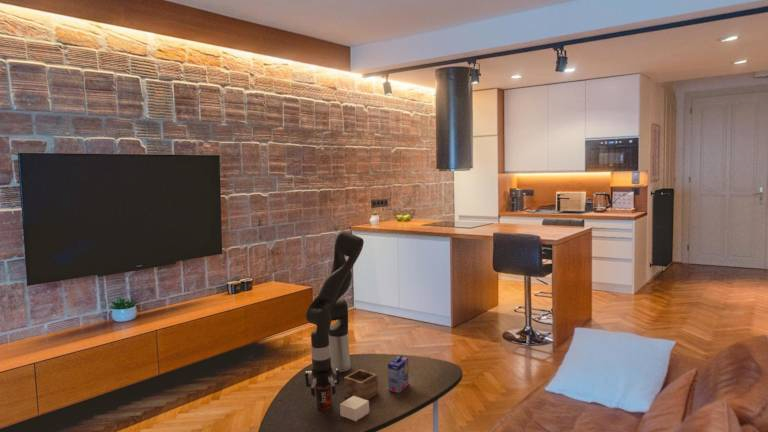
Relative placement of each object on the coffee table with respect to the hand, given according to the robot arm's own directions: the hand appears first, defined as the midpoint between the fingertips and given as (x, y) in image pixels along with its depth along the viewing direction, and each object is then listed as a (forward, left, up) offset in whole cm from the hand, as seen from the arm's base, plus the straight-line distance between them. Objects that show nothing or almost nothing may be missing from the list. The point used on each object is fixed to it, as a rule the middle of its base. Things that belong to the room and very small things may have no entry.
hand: (323, 394), depth 214 cm
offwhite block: (+14, +3, -5) cm, 15 cm away
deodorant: (0, 0, -5) cm, 5 cm away
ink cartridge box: (+15, +30, -5) cm, 34 cm away
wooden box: (+6, +16, -5) cm, 18 cm away
